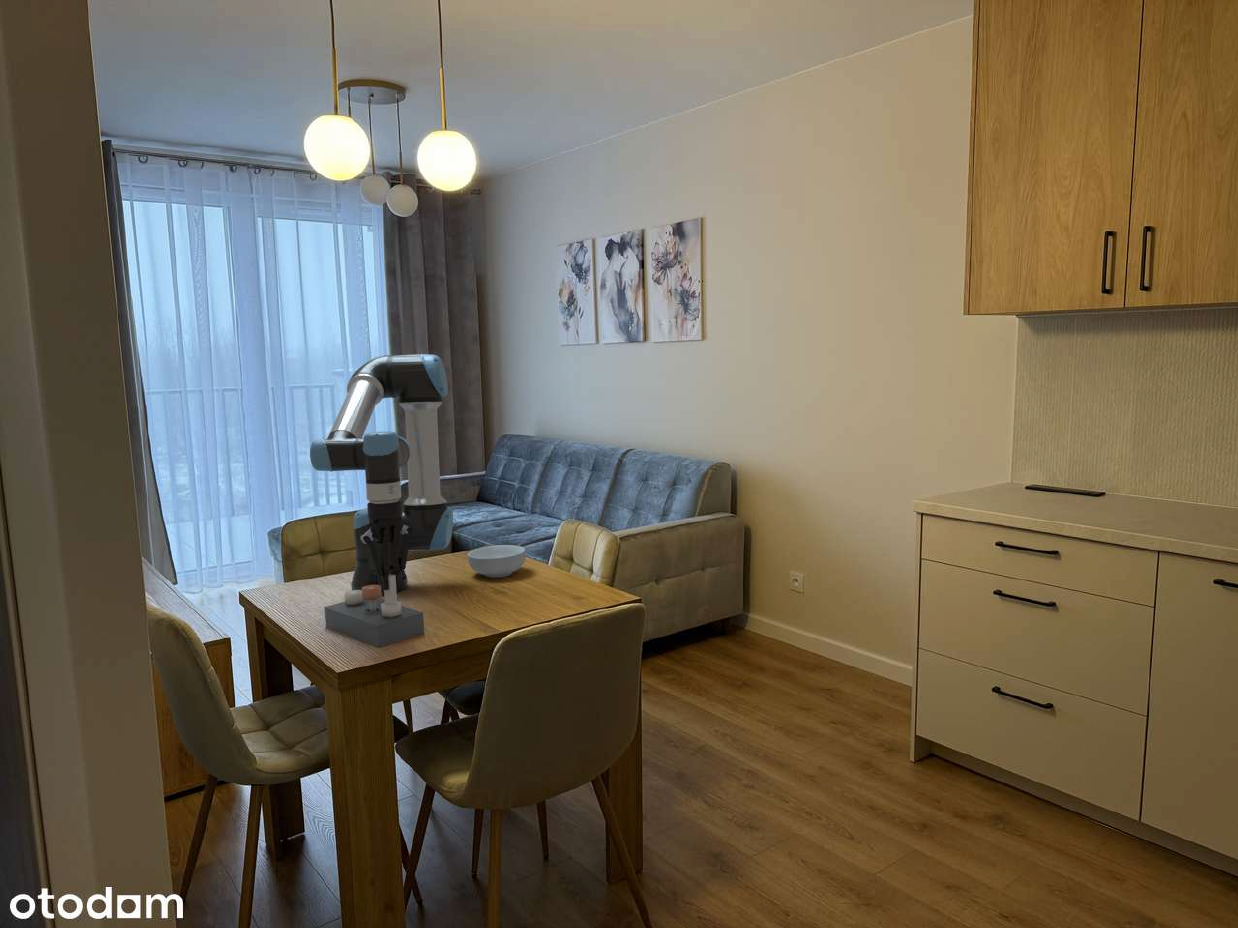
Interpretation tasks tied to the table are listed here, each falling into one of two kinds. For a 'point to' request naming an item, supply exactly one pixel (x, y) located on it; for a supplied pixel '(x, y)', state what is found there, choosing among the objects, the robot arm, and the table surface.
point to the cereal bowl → (497, 560)
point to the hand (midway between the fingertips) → (390, 602)
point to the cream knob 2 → (391, 609)
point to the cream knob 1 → (353, 597)
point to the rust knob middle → (371, 595)
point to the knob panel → (373, 623)
